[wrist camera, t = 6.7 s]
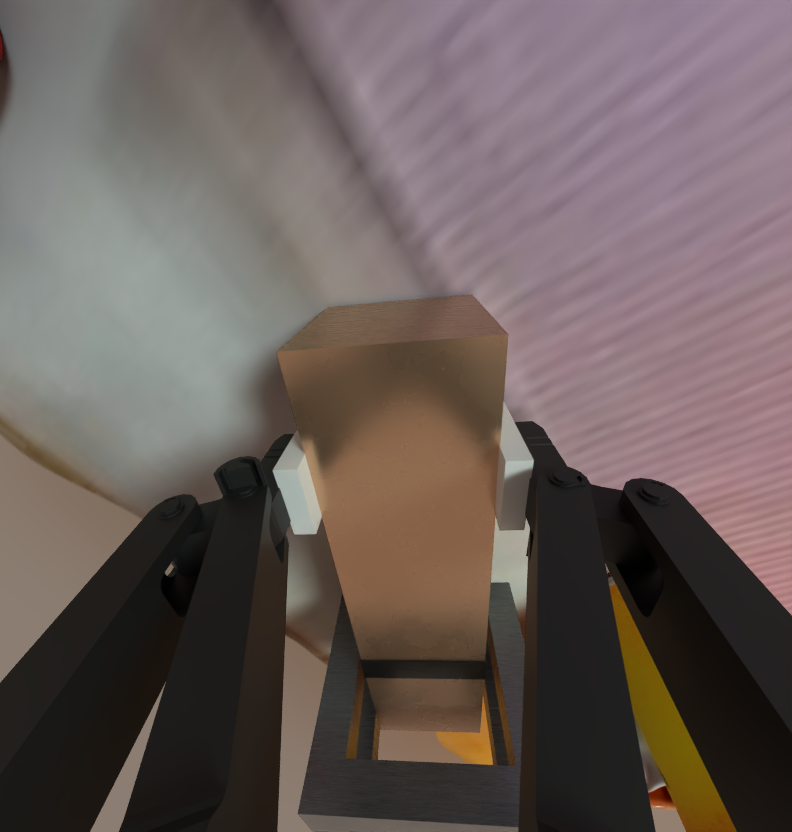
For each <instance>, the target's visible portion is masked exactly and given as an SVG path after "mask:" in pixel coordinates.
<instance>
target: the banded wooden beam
mask: <svg viewBox="0 0 792 832" xmlns="http://www.w3.org/2000/svg"><path fill="white" fill-rule="evenodd" d="M507 345H508V333H507V332H506V331H505V330H504V329H503V328H502V327H501V326H500V325H499V323H498V322H497V321H496V320H495V319H494V318H493V317H492V316H491V315H490V314H489V312H488V311H487V310H486V309H485V308H484V307H483V306H482V305H481V304H480V303H479V302H478V300H477V299H476V298H475V297H474V296H473V295H461V296H450V297H438V298H427V299H416V300H404V301H393V302H382V303H370V304H359V305H347V306H336V307H328V308H327V309H326V310H324V311H323V312H322V313H321V314H320V315H319V316H318V317H316V318H315V319H314V320H313V321H312V322H311V323H309V324H308V325H307V326H306V327H305V328H304V329H302V330H301V331H300V332H299V333H298V334H297V335H295V336H294V337H293V338H292V339H291V340H290V341H288V342H287V343H286V344H285V345H284V346H283V347H281V348H280V349H279V350H278V351H277V352H276V353H277V356H278V360H279V364H280V367H281V371H282V374H283V378H284V382H285V385H286V389H287V393H288V396H289V400H290V403H291V407H292V411H293V414H294V418H295V422H296V425H297V429H298V432H299V436H300V440H301V443H302V447H303V451H304V454H305V456H306V460H307V463H308V467H309V471H310V474H311V478H312V482H313V485H314V489H315V493H316V496H317V500H318V504H319V507H320V511H321V515H322V519H323V523H324V527H325V530H326V534H327V538H328V541H329V545H330V548H331V552H332V556H333V559H334V563H335V567H336V570H337V574H338V577H339V581H340V585H341V588H342V592H343V596H344V599H345V603H346V607H347V610H348V614H349V617H350V621H351V625H352V628H353V632H354V636H355V639H356V643H357V646H358V650H359V654H360V664H361V668H362V671H363V675H364V678H366V679H367V683H368V686H369V690H370V694H371V697H372V701H373V704H374V708H375V712H376V715H377V719H378V723H379V726H380V729H381V730H408V731H442V732H476V733H480V725H481V711H482V697H483V683H484V680H485V677H486V664H487V663H486V657H485V655H486V641H487V627H488V612H489V598H490V584H491V570H492V556H493V542H494V528H495V500H496V486H497V472H498V458H499V445H500V443H501V429H502V415H503V401H504V387H505V373H506V359H507Z"/></svg>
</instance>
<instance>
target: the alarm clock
mask: <svg viewBox="0 0 792 832" xmlns="http://www.w3.org/2000/svg"><path fill="white" fill-rule="evenodd" d="M2 52H3V44H2V39H1V33H0V60H1V59H2Z"/></svg>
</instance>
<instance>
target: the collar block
mask: <svg viewBox="0 0 792 832" xmlns="http://www.w3.org/2000/svg"><path fill="white" fill-rule="evenodd" d="M485 657H486V663H487V664H486V677H485V680H484V683H483V696H484V703H485V710H486V717H487V724H488V731H489V738H490V745H491V752H492V759H493V765H479V764H456V763H455V764H454V763H433V762H410V761H388V760H378V748H379V734H380V726H379V723H378V719H377V715H376V712H375V708H374V704H373V701H372V697H371V694H370V690H369V686H368V683H367V679H366V678H364V675H363V671H362V668H361V664H360V654H359V650H358V646H357V643H356V639H355V636H354V632H353V628H352V625H351V621H350V617H349V614H348V610H347V607H346V603H345V599H344V596H343V594H342V599H341V604H340V609H339V614H338V618H337V623H336V628H335V633H334V638H333V643H332V648H331V653H330V658H329V663H328V668H327V673H326V677H325V683H324V687H323V692H322V698H321V702H320V707H319V712H318V717H317V722H316V726H315V731H314V737H313V741H312V746H311V751H310V756H309V761H308V766H307V771H306V776H305V781H304V786H303V790H302V796H301V800H300V805H299V810H298V815H299V816H300V817H301V818H302V820H303V821H304V822H305V823H306V824H307V825H308V827H309V828H310V829H311V830H312V831H313V832H518V827H519V799H520V771H521V743H522V715H523V687H524V659H525V642H524V638H523V634H522V630H521V627H520V623H519V619H518V615H517V611H516V607H515V603H514V600H513V596H512V592H511V588H510V584H509V583H491V584H490V598H489V612H488V627H487V641H486V655H485Z"/></svg>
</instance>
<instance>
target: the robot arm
mask: <svg viewBox="0 0 792 832" xmlns="http://www.w3.org/2000/svg"><path fill="white" fill-rule="evenodd" d="M214 477H215V479H216V481H217V483H218V485H219V488H220V490H221V492H222V494H223V498H222V499H220V500H216V501H212V502H208V503H204V504H200V505H199V504H198V502H197V500H196V498H195V497H193V496H192V495H185V494H183V495H178V496H174V497H171V498H168V499H166V500H164V501H163V502H161V503H160V504H158V505H156V506H155V507H154V508H153V509H152V510H151V511H150V512H149V513H148V514H147V515H146V516H145V517H144V519H143V520H142V521H141V522H140V523H139V524H138V526H137V527H136V528H135V529H134V530H133V531H132V532H131V534H130V535H129V536H128V537H127V538H126V539H125V540H124V542H123V543H122V544H121V545H120V546H119V547H118V548H117V550H116V551H115V552H114V553H113V554H112V555H111V556H110V558H109V559H108V560H107V561H106V562H105V563H104V565H103V566H102V567H101V568H100V569H99V570H98V572H97V573H96V574H95V575H94V576H93V577H92V578H91V579H90V581H89V582H88V583H87V584H86V585H85V586H84V587H83V589H82V590H81V591H80V592H79V593H78V594H77V596H76V597H75V598H74V599H73V600H72V601H71V602H70V603H69V605H68V606H67V607H66V608H65V609H64V610H63V611H62V613H61V614H60V615H59V616H58V617H57V619H55V621H54V622H53V623H52V624H51V625H50V626H49V628H48V629H47V630H46V631H45V632H44V633H43V634H42V636H41V637H40V638H39V639H38V640H37V641H36V642H35V644H34V645H33V646H32V647H31V648H30V649H29V651H28V652H27V653H26V654H25V655H24V656H23V657H22V658H21V660H20V661H19V662H18V663H17V664H16V665H15V667H14V668H13V669H12V670H11V671H10V672H9V673H8V675H7V676H6V677H5V678H4V679H3V680H2V682H1V683H0V832H90V831H91V828H92V826H93V825H94V823H95V821H96V818H97V817H98V815H99V813H100V811H101V808H102V807H103V805H104V803H105V801H106V799H107V797H108V795H109V793H110V791H111V789H112V787H113V785H114V783H115V781H116V779H117V777H118V775H119V773H120V771H121V769H122V767H123V765H124V763H125V761H126V759H127V757H128V755H129V753H130V751H131V749H132V747H133V745H134V743H135V741H136V739H137V737H138V735H139V734H140V731H141V729H142V728H143V725H144V723H145V721H146V720H147V718H148V716H149V714H150V712H151V710H152V708H153V705H154V704H155V702H156V700H157V698H158V696H159V694H160V692H161V690H162V688H163V686H164V684H165V682H166V684H165V687H164V690H163V694H162V697H161V700H160V703H159V706H158V710H157V713H156V716H155V719H154V723H153V726H152V729H151V733H150V736H149V739H148V742H147V745H146V749H145V752H144V755H143V759H142V762H141V765H140V768H139V772H138V775H137V779H136V781H135V785H134V788H133V791H132V794H131V798H130V801H129V804H128V807H127V811H126V814H125V817H124V820H123V822H122V825H121V828H120V830H119V832H277V825H278V799H279V775H280V774H279V773H280V750H281V724H282V698H283V672H284V649H285V624H286V598H287V573H288V548H289V543H288V539H287V536H286V531H287V529H288V527H289V524H290V523H291V526H292V529H293V532H294V535H297V534H316V533H317V530H318V527H319V524H320V521H321V518H322V515H321V511H320V507H319V504H318V500H317V496H316V493H315V489H314V485H313V482H312V478H311V474H310V471H309V467H308V463H307V460H306V456H305V454H304V451H303V447H302V443H301V440H300V436H299V432H298V429H297V431H296V432H295V434H284V435H283V436H281V437H280V438H279V439H277V440H276V441H275V442H274V443H273V444H272V446H271V447H270V449H269V451H268V452H267V453H266V455H265V456H264V458H263V459H262V461H261V462H260V460H259V459H257V458H256V457H251V456H246V457H239V458H236V459H233V460H230V461H228V462H227V463H225V464H223V465H222V466H220V467H219V468H218V469H217V470H216V472H215V473H214ZM495 515H496V519H497V522H498V526H499V529H500V530H524V528H525V521H526V518H527V521H528V524H529V526H530V534H529V541H528V548H527V554H526V556H528V575H527V603H526V631H525V659H524V687H523V715H522V743H521V771H520V799H519V827H518V832H655V826H654V821H653V816H652V811H651V805H650V799H649V794H648V789H647V783H646V778H645V773H644V768H643V762H642V757H641V752H640V746H639V741H638V736H637V730H636V725H635V720H634V714H633V709H632V704H631V699H630V693H629V688H628V683H627V677H626V672H625V667H624V661H623V656H622V651H621V645H620V640H619V635H618V630H617V624H616V619H615V614H614V608H613V603H612V598H611V592H610V587H609V582H608V576H607V571H606V566H605V563H606V565H607V567H608V569H609V572H610V574H611V576H612V578H613V580H614V582H615V584H616V586H617V588H618V590H619V592H620V594H621V596H622V598H623V600H624V602H625V604H626V606H627V608H628V610H629V612H630V614H631V616H632V619H633V621H634V623H635V625H636V627H637V629H638V631H639V633H640V635H641V637H642V639H643V641H644V643H645V645H646V647H647V649H648V651H649V653H650V655H651V657H652V659H653V661H654V663H655V665H656V668H657V670H658V672H659V674H660V676H661V678H662V680H663V682H664V684H665V686H666V688H667V690H668V692H669V694H670V696H671V698H672V700H673V702H674V704H675V706H676V708H677V710H678V712H679V715H680V717H681V719H682V721H683V723H684V725H685V727H686V729H687V731H688V733H689V735H690V737H691V739H692V741H693V743H694V745H695V747H696V749H697V751H698V753H699V755H700V757H701V759H702V761H703V764H704V766H705V768H706V770H707V772H708V774H709V776H710V778H711V780H712V782H713V784H714V786H715V788H716V790H717V792H718V794H719V796H720V798H721V800H722V802H723V804H724V806H725V808H726V810H727V813H728V815H729V817H730V819H731V821H732V823H733V825H734V827H735V829H736V831H737V832H792V616H791V614H790V613H789V612H788V611H787V610H786V609H785V608H784V607H783V606H782V604H781V603H780V602H779V601H778V600H777V599H776V598H775V597H774V596H773V595H772V593H771V592H770V591H769V590H768V589H767V588H766V587H765V586H764V585H763V583H762V582H761V581H760V580H759V579H758V578H757V577H756V576H755V575H754V574H753V572H752V571H751V570H750V569H749V568H748V567H747V566H746V565H745V564H744V562H743V561H742V560H741V559H740V558H739V557H738V556H737V555H736V554H735V553H734V551H733V550H732V549H731V548H730V547H729V546H728V545H727V544H726V543H725V541H724V540H723V539H722V538H721V537H720V536H719V535H718V534H717V533H716V532H715V530H714V529H713V528H712V527H711V526H710V525H709V524H708V523H707V522H706V520H705V519H704V518H703V517H702V516H701V515H700V514H699V513H698V512H697V511H696V509H695V508H694V507H693V506H692V505H691V504H690V503H689V502H688V501H687V499H686V498H685V497H684V496H683V495H682V494H681V493H679V492H678V491H677V490H676V489H674V488H672V487H671V486H669V485H667V484H665V483H662V482H659V481H655V480H652V479H644V478H638V479H631V480H629V481H628V482H626V483H625V486H624V488H623V491H622V490H617V489H611V488H605V487H600V486H596V485H592V484H590V483H589V481H588V479H587V477H586V476H584V475H583V474H582V473H581V472H579V471H577V470H575V469H573V468H570V467H567V465H566V464H565V462H564V460H563V459H562V457H561V456H560V454H559V453H558V451H557V450H556V448H555V446H554V445H552V442H551V440H550V439H549V438H548V435H547V434H546V432H545V431H544V429H543V428H542V427H540V426H539V425H537V424H536V423H534V422H533V421H528V422H514V421H513V419H512V417H511V415H510V413H509V411H508V409H507V407H506V405H505V403H504V401H503V415H502V429H501V443H500V445H499V458H498V472H497V486H496V500H495ZM170 563H172V565H173V566H174V568H173V570H172V571H171V573H170V574H169V575H168V576H167V575H165V571H166V569H167V568H168V567H169V565H170Z"/></svg>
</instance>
